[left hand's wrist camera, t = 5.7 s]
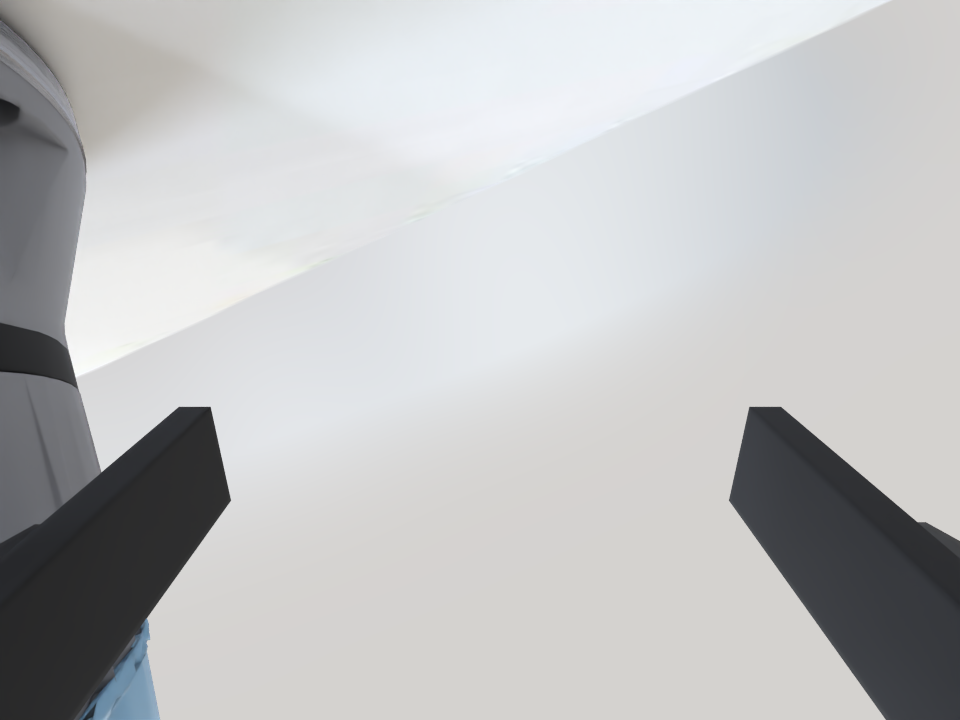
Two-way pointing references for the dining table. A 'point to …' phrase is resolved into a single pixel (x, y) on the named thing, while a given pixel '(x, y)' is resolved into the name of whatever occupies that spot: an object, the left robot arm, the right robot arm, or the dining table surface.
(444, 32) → the dining table surface
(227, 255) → the dining table surface
